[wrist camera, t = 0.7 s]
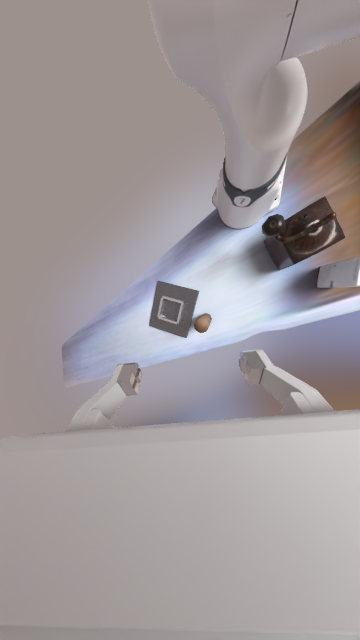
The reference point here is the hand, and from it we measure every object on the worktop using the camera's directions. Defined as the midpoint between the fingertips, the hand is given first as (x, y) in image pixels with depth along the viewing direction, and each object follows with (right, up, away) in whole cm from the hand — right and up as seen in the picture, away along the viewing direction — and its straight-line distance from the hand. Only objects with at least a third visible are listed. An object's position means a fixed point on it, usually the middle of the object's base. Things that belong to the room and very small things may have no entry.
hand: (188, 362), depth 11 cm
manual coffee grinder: (+29, +24, +30) cm, 48 cm away
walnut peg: (+9, +4, +39) cm, 41 cm away
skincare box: (+41, +15, +28) cm, 52 cm away
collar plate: (-3, +7, +42) cm, 43 cm away
